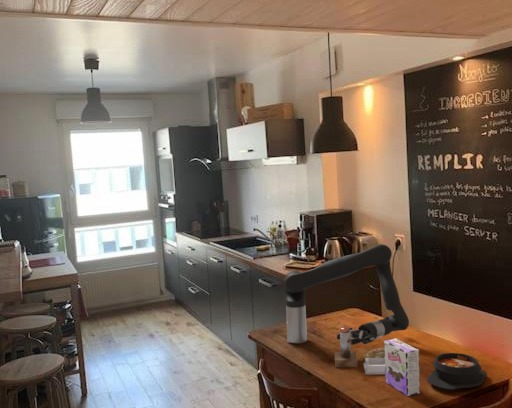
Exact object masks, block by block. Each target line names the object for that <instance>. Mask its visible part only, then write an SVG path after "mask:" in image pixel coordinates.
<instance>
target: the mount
mask: <svg viewBox="0 0 512 408" xmlns="http://www.w3.org/2000/svg"><path fill="white" fill-rule="evenodd" d="M333 353H334V354H333V355H334V365H335V368H358V366H359V365H358V356H357V352H356V351H350V357H348V358H344V357H341V351H334V352H333Z"/></svg>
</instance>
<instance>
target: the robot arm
mask: <svg viewBox="0 0 512 408" xmlns="http://www.w3.org/2000/svg"><path fill="white" fill-rule="evenodd" d="M392 254H393V252H392V250H391V248H390V247H389V246H388V245H386V244H383V243H380V244H377V245H374V246H373V247H370V248H368V249H366V250H363V251H361V252H357V253H352V254H348V255H343V256H339V257H337V258H336V257H335V258H334V259H330V260H327V261H325V262H323V263H321V264H319V265H318V266H316V267H315V268H312V269H309V270H306V271H303V272H301V271H299V270H291V271H289V272H287V273H286V275H285V277H284V287H285V308H286V309H285V310H286V311H285V312H286V313H285V314H286V336H287V337H286V338H287V339H286V340H287V343H291V344H304V343H307V341H308V335H307V334H308V333H307V332H308V331H307V326H308V325H307V313H306V312H307V311H306V306H307V305H306V290H307V289H309V288H311V287H314V286H316V285H319V284H324V283H328V282H331V281H333V280H338V279H341V278H344V277H345V278H346V276H347V277H348V276H350V275H352V274H354V273H357V272H359V271H361V270H364V269H366V268H368V267H369V268H370V267H373V266H374V267H375V269H376V272H377V276H378V278H379V283H380V288H381V289H380V290H381V294H382V298H383V299H382V300H383V303H384V306H385V309H386V310H387V311H390V312H392V313H393V314H392V315H388V316H386V317H384V318H382V319H378V320H373V321H369V322H365V323H363V324H361V325H359V327H358V328H357V329H353V327H349V332H350V345H352V346H354V345H357V344H363V345H367V344H369V343H371V342H374V341H375V340H376V339H380V338H381V337H385V336H387V335H389V334H391V333H393V332H399V331H406V330H407V329H408V328H409V325H410V321H409V317H408V315H407V312H406V311H405V309H404V307H403V306H402V303H401V300H400V295H399V291H398V288H397V285H396V282H395V279H394V276H393V274H392V267H391V258H392ZM336 339H337V340H338V341H340V333H337V334H336Z"/></svg>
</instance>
